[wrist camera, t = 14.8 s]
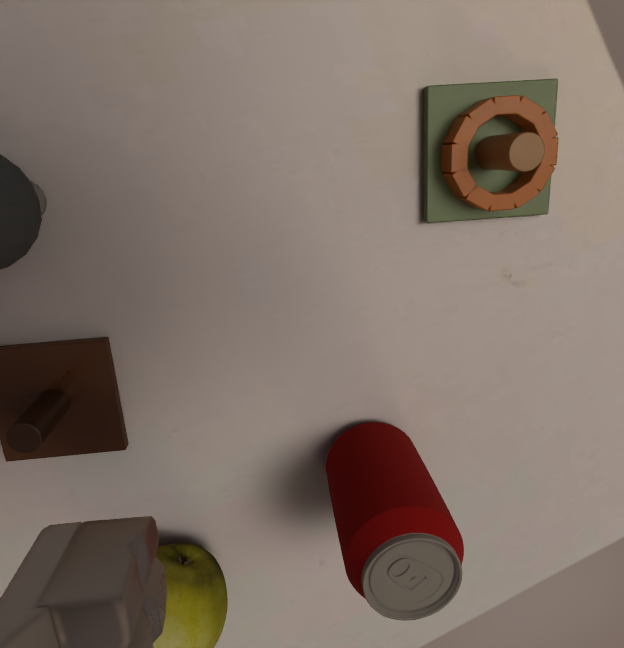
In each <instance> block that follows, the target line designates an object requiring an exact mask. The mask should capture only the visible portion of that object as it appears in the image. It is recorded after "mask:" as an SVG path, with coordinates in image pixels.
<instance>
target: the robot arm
mask: <svg viewBox="0 0 624 648" xmlns="http://www.w3.org/2000/svg"><path fill="white" fill-rule="evenodd" d="M158 543H159V535H158V531H157V526H156V521H155V520H154V519H153V517H152V516H145V517H133V518H122V519H110V520H98V521H86V522H83V523H82V522H76V523H66V524H57V525H49V526H48V527H46V528H44V529H43V530H42V531H41V532H40V534H39V535H38V537H37V539H36V540H35V542H34V544H33V545H32V547H31V549H30V550H29V552H28V553H27V555H26V557H25V558H24V560H23V562H22V563H21V565H20V567H19V568H18V570H17V572H16V573H15V575H14V577H13V578H12V580H11V582H10V583H9V585H8V587H7V588H6V590H5V592H4V593H3V595H2V597H1V598H0V648H154V647H153V643H154V642H155V641H156V639H157V638H158V637H159V636H160V635H161V634H162V632H163V627H164V621H165V616H166V602H167V586H166V575H165V569H164V564H163V563H162V562H161V561H160V560H159V559H157V558H156V557H155V554H156V550H157V546H158Z"/></svg>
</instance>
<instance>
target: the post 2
mask: <svg viewBox="0 0 624 648" xmlns="http://www.w3.org/2000/svg"><path fill="white" fill-rule="evenodd" d="M557 89H558V79H542V80H524V81H506V82H488V83H470V84H451V85H433V86H427V87H425V88H424V222H427V223H432V222H446V221H460V220H474V219H488V218H501V217H515V216H529V215H543V214H548V209H549V196H550V183H551V176H550V178H549V179H548V181H547V183H546V184H545V186H544V188H543V189H542V191H538V192H539V194H538V195H537V196H535V197H534V198H532V199H531V200H529V201H528V202H526V203H525V204H523V205H522V206H520V207H519V208H514V209H513V210H501V211H486V210H482V209H478V208H475V207H473V206H471V205H469V204H467V203H465V202H464V201H462V200H460V199H458V198H456V195H454V194H453V193H452V191H451V189H450V187H449V185H448V184H447V182H446V180H445V178H444V176H443V173H445V172H442V145H446V144H444V143H443V141H444V139H445V137H446V135H447V133H448V131H449V129H450V127H451V126H452V124H453V122H454V120H455V118H458V115H459V114H461V113H462V112H464V111H465V110H467V109H468V108H470V107H471V106H472V105H474V104H475V103H477V102H478V101H481V100H483V99H487V98H491V97H495V96H511V95H520V96H525V97H526V98H528V99H530V100H531V101H533V102H535V103H536V104H538V105H539V106H541V107H543V108H544V109H545V110H544V111H543V112H545V111H547V112H548V115H549V117H550V119H551V121H552V123H553V125H554V127H555V116H556V102H557ZM544 153H545V146H544V142H543V140H542V139H541V137H540V136H539V135H537V134H535V133H532V132H524V133H523V131H522V129H521V127H520V125H518V124H516V123H514V122H513V121H511V120H509V119H508V118H506V117H504V116H498V117H493V118H491V119H490V120H489V121H487V122H486V123H484V124H483V125H481V126H480V127H479V128H478V129H477V131H476V133H475V135H474V137H473V139H472V140H471V142H470V144H469V146H468V170H469V172H470V174H471V175H472V177H473V179H474V181H475V183H476V185H477V186H479V187H481V188H483V189H485V190H487V191H488V192H496V191H501V190H503V189H504V188H506V187H507V186H509V185H510V184H512V183H513V182H515V181H516V180H517V179H518V177H519V176H520V174H521V172H526V171H530V170H533V169H534V168H536V167H537V166H538V165H539V164H540V163H541V161H542V159H543V157H544Z"/></svg>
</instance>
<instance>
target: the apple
mask: <svg viewBox="0 0 624 648" xmlns="http://www.w3.org/2000/svg"><path fill="white" fill-rule="evenodd" d="M155 557H156V558H157V559H159V560H160V561H161V562H162V563H163V564H164V569H165V575H166V586H167V602H166V616H165V621H164V627H163V632H162V634H161V635H160V636H159V637H158V638H157V639H156V641H155V642H154V643H153V647H154V648H214V647H215V645H216V643H217V641H218V639H219V637H220V635H221V632H222V630H223V627H224V623H225V619H226V613H227V589H226V583H225V579H224V575H223V572H222V570H221V568H220V566H219V564H218V562H217V560H216V559H215V558H214V556H213V555H212V554H210V553H209V552H208V551H206V550H205V549H204V548H202V547H201V546H198V545H195V544H189V543H176V544H170V545H162V546H158V547H157V550H156V554H155Z"/></svg>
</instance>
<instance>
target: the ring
mask: <svg viewBox="0 0 624 648" xmlns="http://www.w3.org/2000/svg"><path fill="white" fill-rule="evenodd" d="M544 110H545V109H544V108H543V107H541V106H539V105H538V104H536V103H535V102H533V101H531V100H530V99H528V98H526V97H525V96H520V95H511V96H495V97H491V98H487V99H483V100H481V101H478V102H477V103H475V104H474V105H472V106H471V107H470V108H468V109H467V110H465V111H464V112H462V113H461V114H459V115H458V118H455V120H454V122H453V124H452V126H451V127H450V129H449V131H448V133H447V135H446V137H445V139H444V141H443V143H444V144H446V145H442V172H445V173H443V176H444V178H445V180H446V182H447V184H448V185H449V187H450V189H451V191H452V193H453V194H454V195H456V198H458V199H460V200H462V201H464V202H465V203H467V204H469V205H471V206H473V207H475V208H478V209H482V210H486V211H501V210H513V209H514V208H519V207H520V206H522V205H523V204H525V203H526V202H528V201H529V200H531V199H532V198H534V197H535V196H537V195H538V194H539V192H538V191H542V189H543V188H544V186H545V184H546V183H547V181H548V179H549V178H550V176H551V174H552V172H553V171H554V169H555V168H554V167H553V166H552V165H556V163H557V150H558V138H557V137H556V138H554V137H555V136H557V135H558V134H557V132H556V130H555V127H554V125H553V123H552V121H551V119H550V117H549V115H548V112H547V111H545V112H543V111H544ZM498 116H504V117H506V118H508V119H509V120H511V121H513V122H514V123H516V124H518V125H520V127H521V129H522V131H523V133H524V132H532V133H535V134H537V135H539V136H540V137H541V139H542V140H543V142H544V146H545V153H544V157H543V159H542V161H541V163H540V164H539V165H538V166H537V167H536V168H534V169H533V170H530V171H526V172H521V174H520V176H519V177H518V179H517V180H516V181H515V182H513V183H512V184H510V185H509V186H507V187H506V188H504V189H503V190H501V191H496V192H488V191H487V190H485V189H483V188H481V187H479V186H477V185H476V183H475V181H474V179H473V177H472V175H471V174H470V172H469V170H468V146H469V144H470V142H471V140H472V139H473V137H474V135H475V133H476V131H477V129H478V128H479V127H480V126H481V125H483V124H484V123H486V122H487V121H489V120H490V119H491V118H493V117H498Z"/></svg>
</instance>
